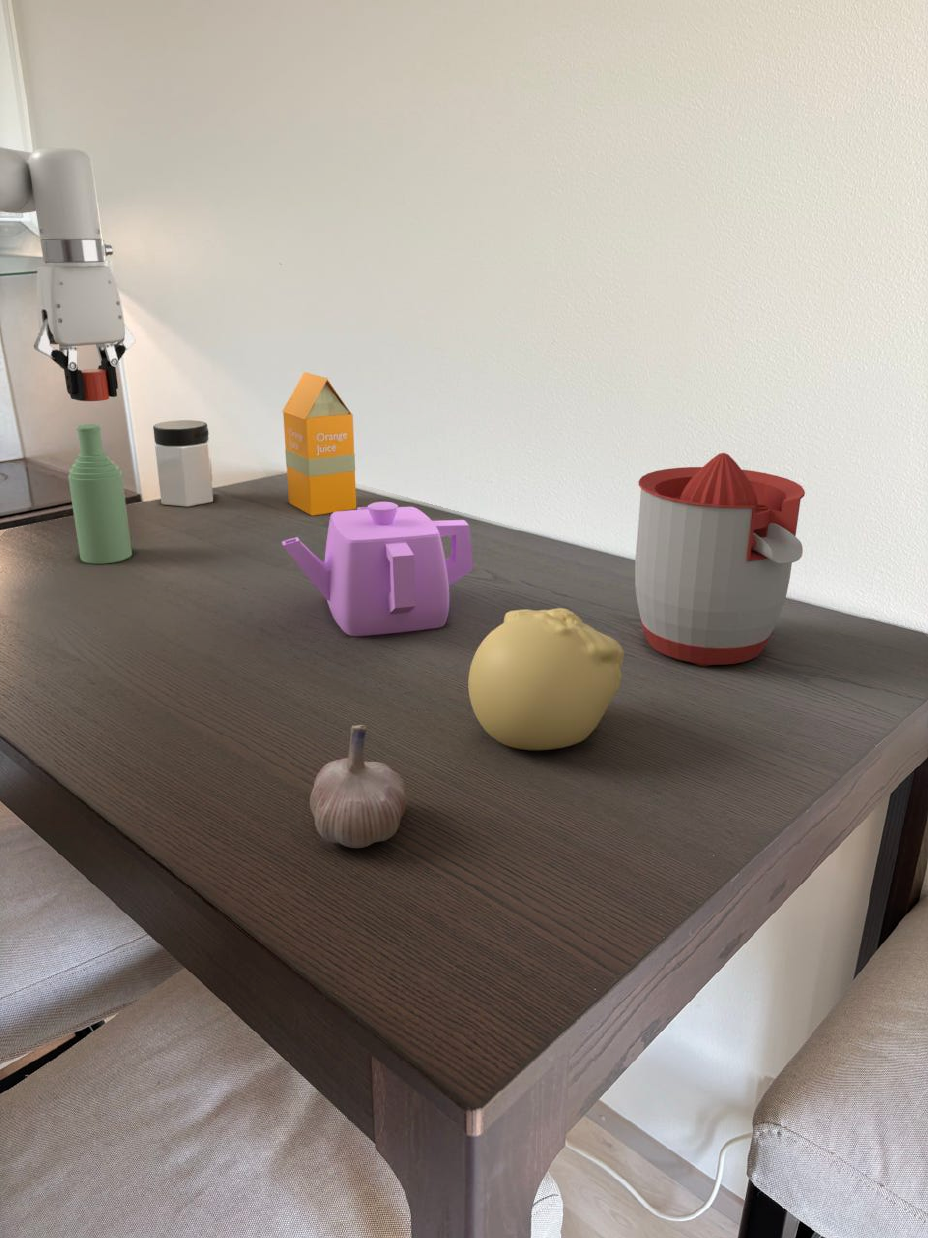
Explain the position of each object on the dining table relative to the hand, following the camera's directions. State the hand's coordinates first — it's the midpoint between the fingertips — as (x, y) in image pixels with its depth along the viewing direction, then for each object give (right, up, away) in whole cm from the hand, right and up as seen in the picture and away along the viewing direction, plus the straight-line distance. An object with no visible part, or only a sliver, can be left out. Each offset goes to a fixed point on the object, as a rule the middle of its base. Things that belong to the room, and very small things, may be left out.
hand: (93, 396), depth 131 cm
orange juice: (+28, -13, +19) cm, 37 cm away
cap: (0, 0, 0) cm, 0 cm away
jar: (+7, -12, +22) cm, 25 cm away
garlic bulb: (+43, -45, -63) cm, 89 cm away
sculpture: (+57, -40, -50) cm, 86 cm away
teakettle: (+41, -30, -23) cm, 56 cm away
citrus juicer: (+76, -34, -33) cm, 89 cm away
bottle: (+4, -22, -6) cm, 23 cm away
